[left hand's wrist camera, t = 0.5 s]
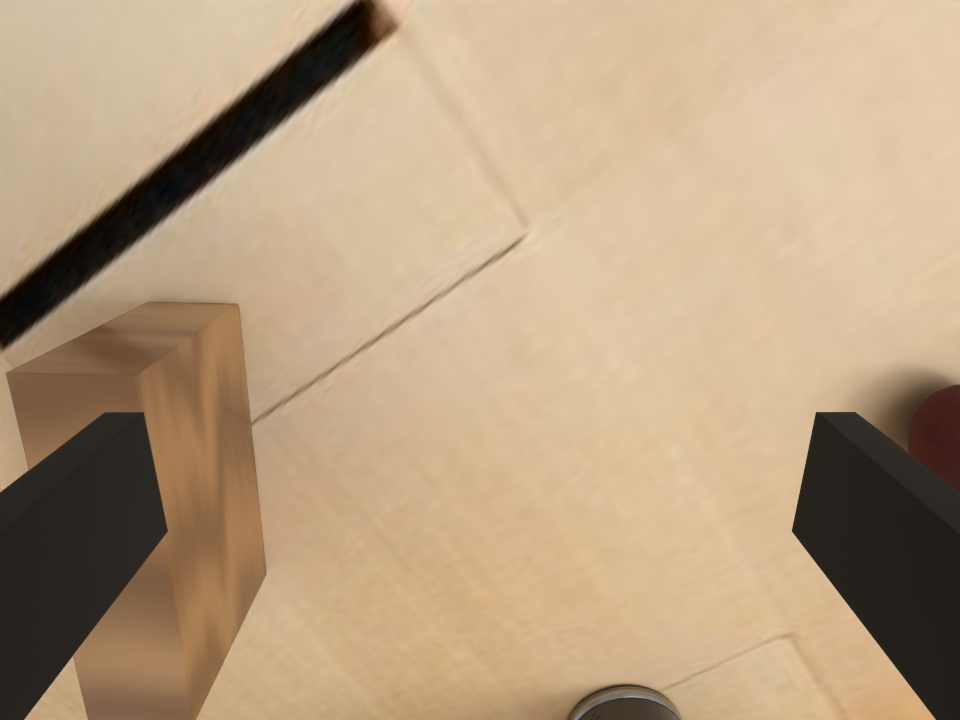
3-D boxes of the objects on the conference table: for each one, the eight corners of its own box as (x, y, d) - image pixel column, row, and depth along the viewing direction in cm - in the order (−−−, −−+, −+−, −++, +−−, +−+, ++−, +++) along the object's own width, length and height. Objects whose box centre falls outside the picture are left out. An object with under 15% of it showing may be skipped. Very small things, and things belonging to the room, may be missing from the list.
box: (147, 301, 40) (4, 372, 28) (238, 303, 40) (136, 375, 28) (188, 572, 46) (88, 723, 34) (266, 574, 46) (193, 725, 35)
